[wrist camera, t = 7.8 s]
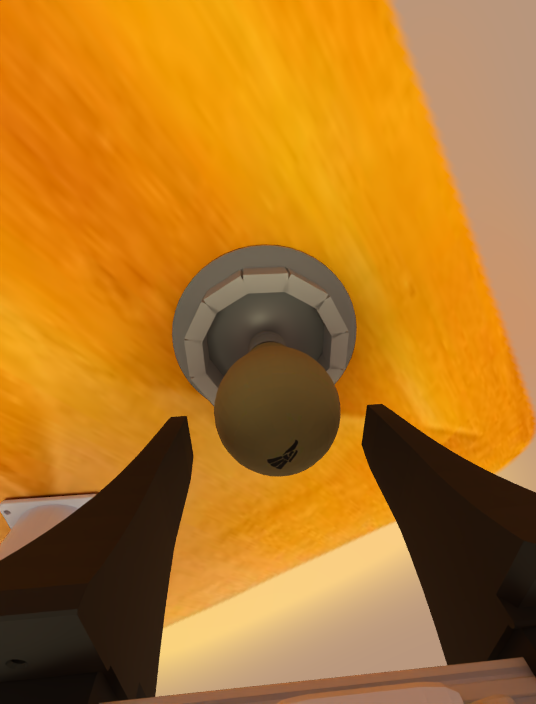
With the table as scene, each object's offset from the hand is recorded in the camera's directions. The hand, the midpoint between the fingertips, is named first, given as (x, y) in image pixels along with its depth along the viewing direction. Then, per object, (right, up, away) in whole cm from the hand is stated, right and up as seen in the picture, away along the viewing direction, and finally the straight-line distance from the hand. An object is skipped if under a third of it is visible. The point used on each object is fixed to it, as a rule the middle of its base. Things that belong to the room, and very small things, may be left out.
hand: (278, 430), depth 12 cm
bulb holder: (-1, +4, +8) cm, 9 cm away
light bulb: (0, +4, +8) cm, 9 cm away
